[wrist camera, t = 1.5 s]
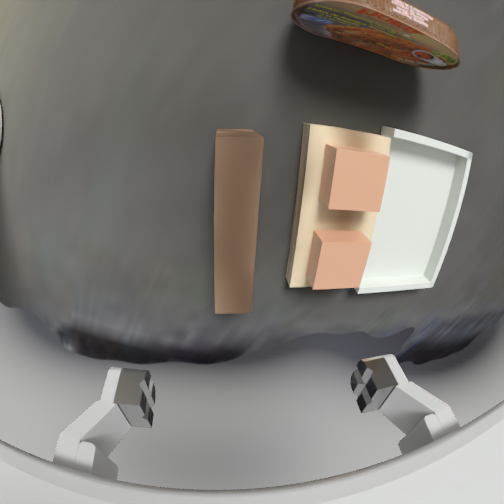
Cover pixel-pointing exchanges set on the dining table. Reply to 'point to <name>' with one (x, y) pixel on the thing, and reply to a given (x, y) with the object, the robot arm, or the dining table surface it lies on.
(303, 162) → the board
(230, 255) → the tall tan block
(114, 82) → the dining table surface
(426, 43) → the tin
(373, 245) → the tray
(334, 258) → the tile
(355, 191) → the tile
